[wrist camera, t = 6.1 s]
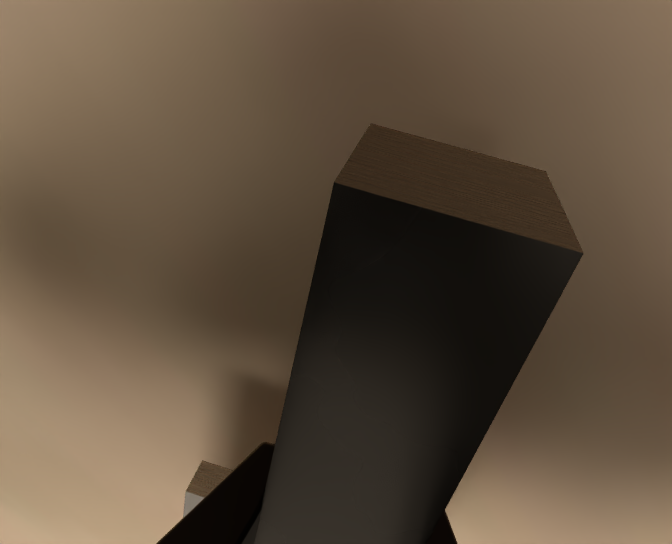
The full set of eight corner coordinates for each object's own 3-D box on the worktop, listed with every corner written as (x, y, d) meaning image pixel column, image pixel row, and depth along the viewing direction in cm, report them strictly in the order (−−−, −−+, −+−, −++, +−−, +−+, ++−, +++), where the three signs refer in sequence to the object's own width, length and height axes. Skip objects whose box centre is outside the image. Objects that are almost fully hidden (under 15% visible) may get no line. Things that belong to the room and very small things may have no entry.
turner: (245, 88, 7) (157, 132, 5) (682, 208, 7) (781, 309, 5) (188, 579, 14) (141, 682, 12) (403, 653, 13) (393, 774, 11)
